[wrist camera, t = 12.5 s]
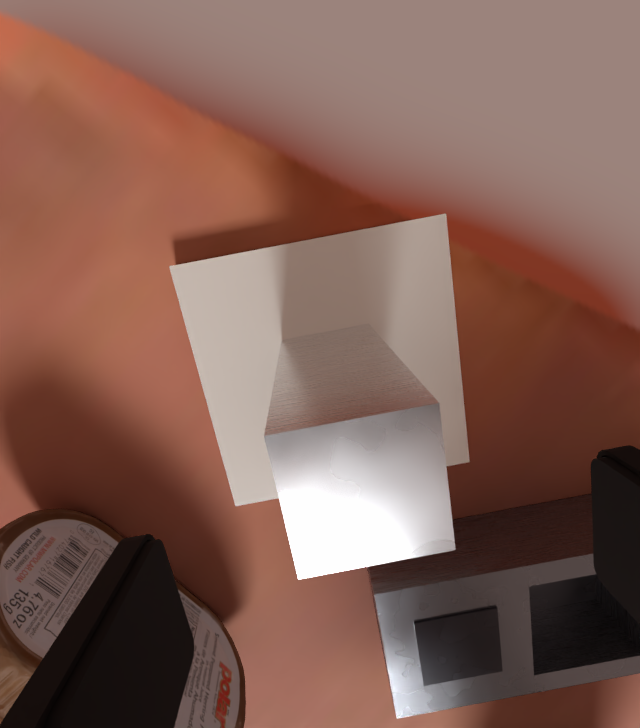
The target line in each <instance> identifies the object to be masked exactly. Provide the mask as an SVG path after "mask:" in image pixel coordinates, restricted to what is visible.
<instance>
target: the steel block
mask: <svg viewBox="0 0 640 728" xmlns="http://www.w3.org/2000/svg"><path fill="white" fill-rule="evenodd" d="M264 438H265V443H266V447H267V451H268V455H269V459H270V463H271V468H272V472H273V476H274V480H275V484H276V488H277V492H278V497H279V501H280V505H281V509H282V513H283V517H284V522H285V526H286V530H287V534H288V538H289V542H290V546H291V551H292V555H293V559H294V563H295V567H296V571H297V576H298V579H304V578H309V577H314V576H320V575H325V574H330V573H336V572H341V571H346V570H352V569H357V568H362V567H368V566H373V565H378V564H384V563H389V562H394V561H400V560H405V559H410V558H416V557H421V556H426V555H432V554H437V553H442V552H448V551H453V550H456V549H455V540H454V531H453V522H452V513H451V504H450V495H449V486H448V477H447V468H446V459H445V450H444V441H443V432H442V423H441V414H440V405H439V402H438V401H437V400H436V399H435V398H434V396H433V395H432V394H431V393H430V392H429V391H428V390H427V389H426V387H425V386H424V385H423V384H422V383H421V382H420V381H419V380H418V378H417V377H416V376H415V375H414V374H413V373H412V372H411V371H410V369H409V368H408V367H407V366H406V365H405V364H404V363H403V362H402V360H401V359H400V358H399V357H398V356H397V355H396V354H395V353H394V351H393V350H392V349H391V348H390V347H389V346H388V345H387V344H386V343H385V341H384V340H383V339H382V338H381V337H380V336H379V335H378V334H377V332H376V331H375V330H374V329H373V328H372V327H371V326H370V325H369V324H363V325H358V326H353V327H348V328H342V329H337V330H332V331H326V332H321V333H316V334H311V335H305V336H300V337H295V338H290V339H284V340H282V341H281V346H280V352H279V357H278V362H277V368H276V373H275V379H274V384H273V389H272V395H271V400H270V406H269V411H268V416H267V422H266V427H265V433H264Z"/></svg>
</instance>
